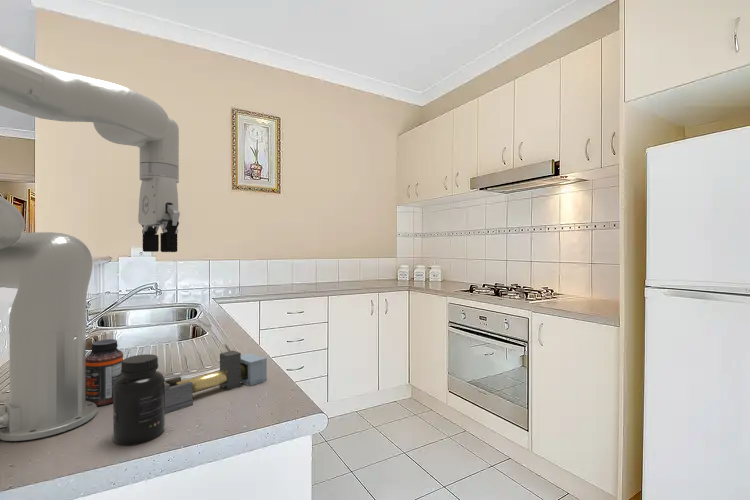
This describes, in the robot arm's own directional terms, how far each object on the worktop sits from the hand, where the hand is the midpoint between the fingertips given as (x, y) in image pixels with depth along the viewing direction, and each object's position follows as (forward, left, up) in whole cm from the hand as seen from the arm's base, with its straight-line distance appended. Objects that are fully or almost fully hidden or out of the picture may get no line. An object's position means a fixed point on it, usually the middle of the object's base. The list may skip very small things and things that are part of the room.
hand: (159, 251), depth 82 cm
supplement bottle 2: (-12, -24, -28) cm, 39 cm away
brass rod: (+5, -16, -28) cm, 33 cm away
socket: (+12, -16, -28) cm, 35 cm away
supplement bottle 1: (-11, -4, -28) cm, 31 cm away
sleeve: (-6, -16, -28) cm, 33 cm away
